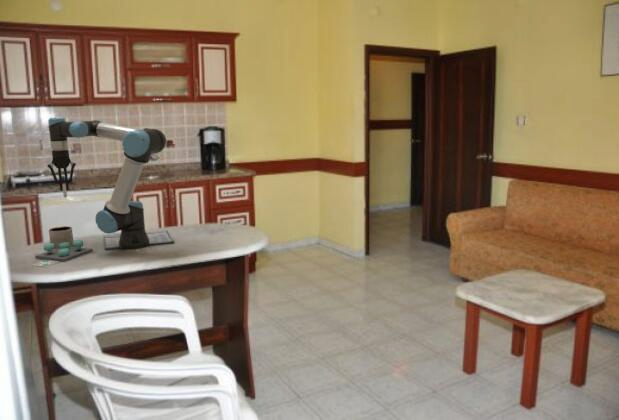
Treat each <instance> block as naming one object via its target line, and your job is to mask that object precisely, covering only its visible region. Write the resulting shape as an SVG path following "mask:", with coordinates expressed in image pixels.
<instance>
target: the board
mask: <svg viewBox="0 0 619 420" xmlns="http://www.w3.org/2000/svg"><path fill="white" fill-rule="evenodd" d="M59 249H60V248H57V249H53V250H52V252H51V253H47V251H45V252H42V253H39V254H36V255H34V259H36V260H42V261H44V260H51V261H59V263H61V262H62V263H65V262H68V261H71V260H73V259H77V258H80V257H82V256H85V255H87V254H91V253H93V252H94V249H93V248H88V247H81V249H76V247H73V246H72V247H70V248H68V249H69V255H67V256H65V257H63V256H59V252H58V250H59Z"/></svg>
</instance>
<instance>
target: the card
mask: <svg viewBox="0 0 619 420" xmlns="http://www.w3.org/2000/svg"><path fill="white" fill-rule="evenodd" d="M56 264H60V262H59V261H51V260H42V261H39V262H36V263H33V264H31V267H37V268H38V267H39V268H47V267H50V266H52V265H56Z"/></svg>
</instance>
